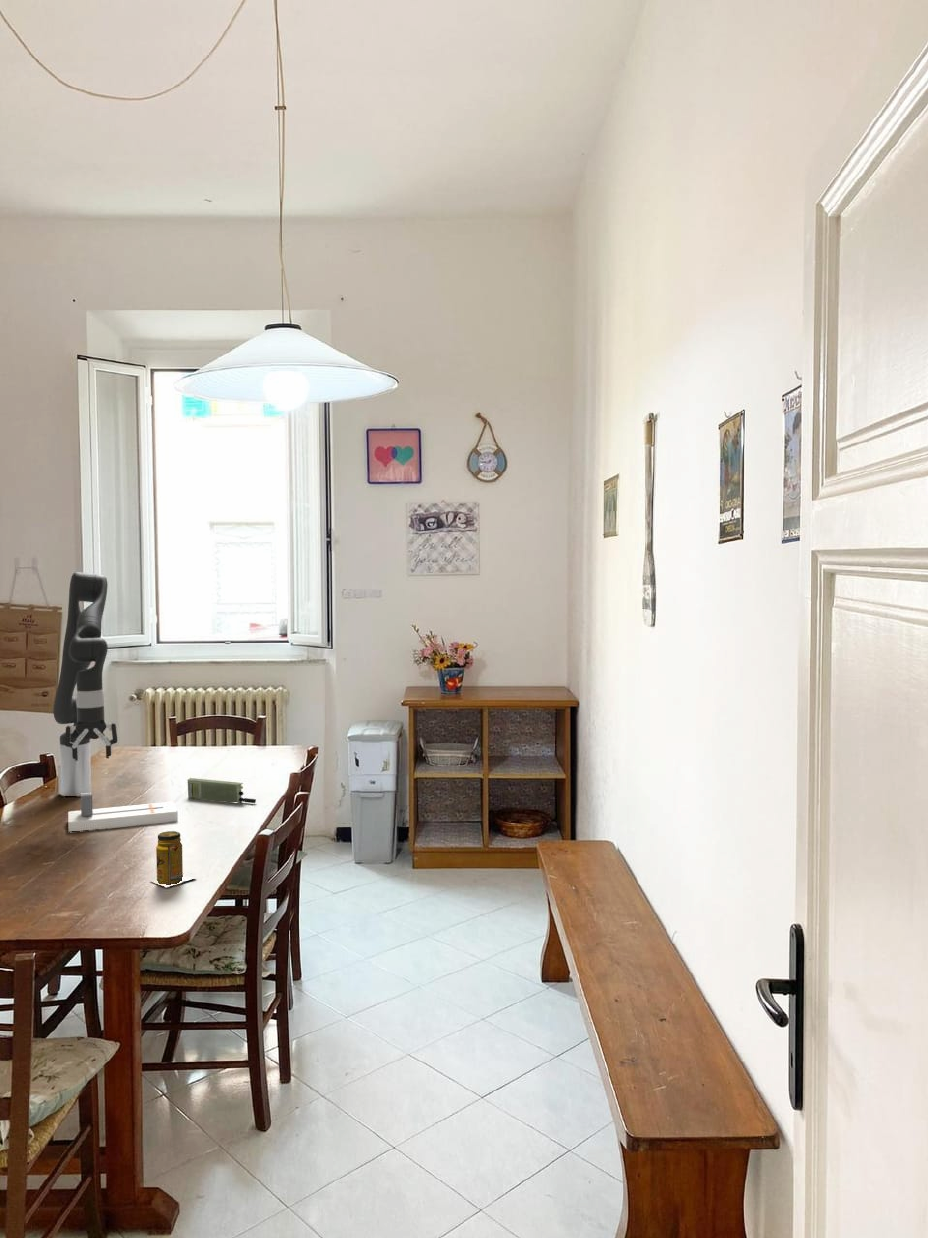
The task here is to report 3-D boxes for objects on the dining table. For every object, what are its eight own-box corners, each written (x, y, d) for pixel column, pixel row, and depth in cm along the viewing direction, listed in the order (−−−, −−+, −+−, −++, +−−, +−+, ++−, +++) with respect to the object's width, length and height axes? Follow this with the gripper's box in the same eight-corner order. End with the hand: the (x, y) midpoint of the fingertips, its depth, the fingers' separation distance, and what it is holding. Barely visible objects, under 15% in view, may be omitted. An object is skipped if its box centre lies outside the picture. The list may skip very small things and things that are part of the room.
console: (68, 832, 258) (68, 822, 258) (68, 821, 269) (68, 811, 269) (177, 821, 270) (177, 811, 270) (173, 810, 281) (173, 801, 281)
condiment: (149, 882, 219) (148, 834, 219) (180, 873, 226) (179, 826, 225) (166, 889, 215) (165, 840, 214) (197, 880, 221) (196, 832, 220)
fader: (81, 816, 263) (81, 796, 262) (81, 812, 267) (80, 791, 267) (92, 815, 264) (92, 794, 264) (92, 811, 269) (91, 790, 268)
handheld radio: (192, 796, 300) (258, 803, 291) (186, 799, 296) (252, 806, 288) (192, 777, 299) (257, 783, 291) (185, 779, 296) (251, 786, 288)
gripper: (63, 708, 261) (65, 763, 262) (115, 705, 266) (117, 759, 267) (65, 705, 268) (67, 758, 269) (116, 702, 273) (118, 755, 274)
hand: (92, 759), depth 268 cm, fingers open, 8 cm apart
